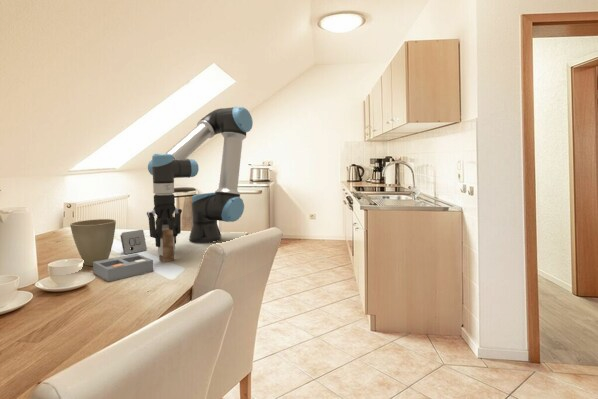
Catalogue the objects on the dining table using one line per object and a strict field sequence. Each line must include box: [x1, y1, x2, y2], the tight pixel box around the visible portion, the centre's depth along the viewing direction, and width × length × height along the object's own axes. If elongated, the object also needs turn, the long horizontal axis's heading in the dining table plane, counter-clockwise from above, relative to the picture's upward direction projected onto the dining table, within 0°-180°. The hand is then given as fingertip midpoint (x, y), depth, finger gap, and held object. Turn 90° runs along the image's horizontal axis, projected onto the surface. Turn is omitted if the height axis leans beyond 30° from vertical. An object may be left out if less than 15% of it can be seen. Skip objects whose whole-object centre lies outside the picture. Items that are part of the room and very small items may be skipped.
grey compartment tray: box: [92, 253, 154, 282], centre depth 124 cm, size 15×13×4 cm
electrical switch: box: [119, 229, 148, 255], centre depth 153 cm, size 9×5×9 cm, turn 141°
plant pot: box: [69, 218, 117, 267], centre depth 135 cm, size 15×15×16 cm
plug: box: [158, 229, 175, 263], centre depth 139 cm, size 4×4×12 cm
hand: (166, 253), depth 139 cm, fingers closed on plug, 4 cm apart
